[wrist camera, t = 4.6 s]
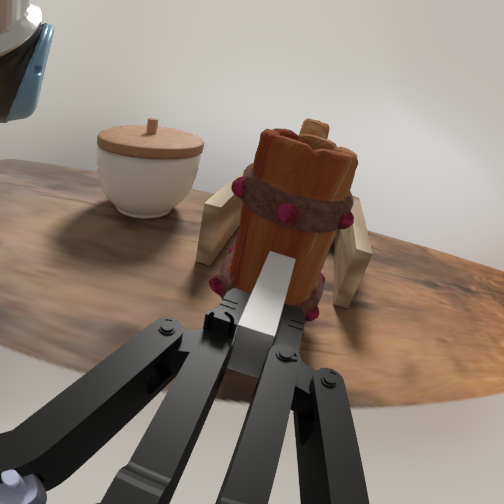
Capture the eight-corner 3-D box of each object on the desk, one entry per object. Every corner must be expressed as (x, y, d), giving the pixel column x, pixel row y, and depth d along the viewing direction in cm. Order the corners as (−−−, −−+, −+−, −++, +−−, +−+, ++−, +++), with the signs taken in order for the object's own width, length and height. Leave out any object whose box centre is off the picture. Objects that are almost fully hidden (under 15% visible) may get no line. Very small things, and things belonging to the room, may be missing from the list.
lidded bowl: (118, 183, 44) (125, 108, 39) (201, 198, 45) (214, 121, 39) (76, 217, 33) (78, 121, 28) (179, 239, 34) (194, 135, 28)
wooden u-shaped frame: (195, 261, 31) (204, 202, 28) (240, 206, 45) (249, 165, 42) (347, 308, 29) (372, 254, 26) (344, 237, 44) (358, 197, 41)
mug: (301, 372, 21) (389, 159, 14) (191, 335, 22) (228, 113, 15) (317, 270, 34) (363, 132, 27) (244, 247, 35) (277, 107, 28)
